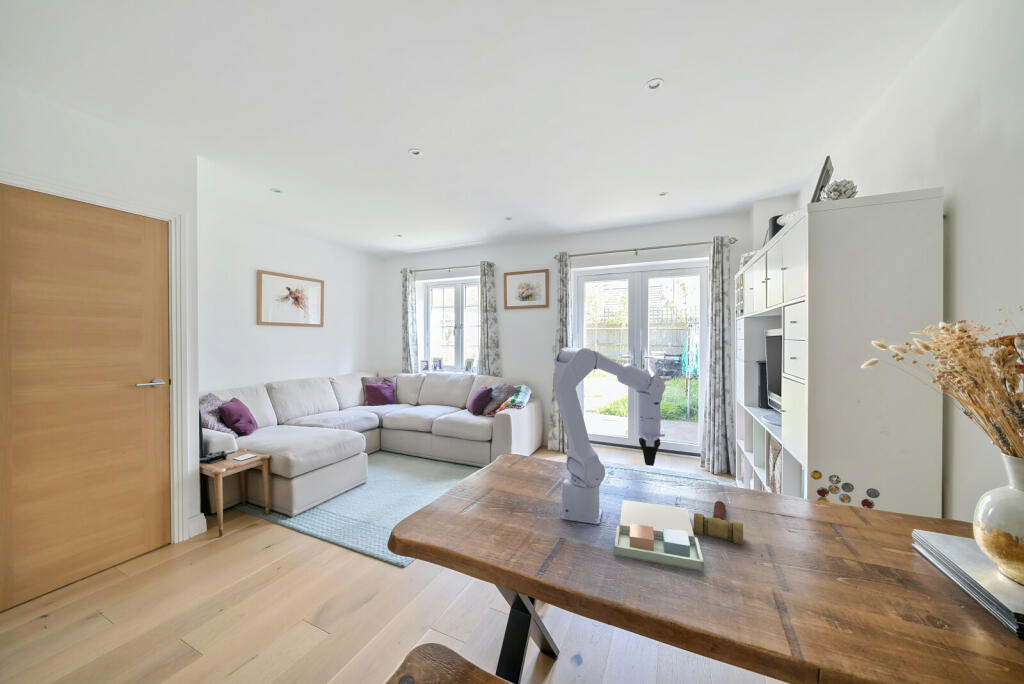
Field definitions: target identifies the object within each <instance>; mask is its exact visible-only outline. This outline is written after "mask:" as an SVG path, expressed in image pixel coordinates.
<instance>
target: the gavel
mask: <svg viewBox="0 0 1024 684" xmlns="http://www.w3.org/2000/svg"><path fill="white" fill-rule="evenodd" d="M725 519H726V504H725V503H724V502H723V501H722V500H716V501H715V502H714V506H713V514H712V517H711V516H708V517H707V516H705V515H704V513H703V514H702V513H698V512H695V513H694V514H693V521H692V522H693V524H692V525H693V527H692V530H693V534H695V535H696V534H697V535H700V536H704V535H707V536H710V537H715V538H719V539H723V540H727V541H728V540H729V541H732V543H733V542H734V544H738V545H744V523H743V522H741V521H736V520H733V521H732V522H730V521H728V520H725Z"/></svg>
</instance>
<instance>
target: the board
mask: <svg viewBox="0 0 1024 684" xmlns="http://www.w3.org/2000/svg"><path fill="white" fill-rule="evenodd" d="M620 511H621V512H620V521H619V526H620V531H626V532H630V523H631V524H637V525H644V526H650V527H653V533H654V536H657V537H663V528H666V529H672V530H679V531H685V532H687V533H688V538H689V542H694V537H695V535H694V534H695V533H694V530H693V527H692V523H691V520H690V516H689V511H688V508H686V507H680V506H679V507H678V506H671V505H664V504H656V503H655V504H654V503H649V502H641V501H635V500H626V499H622V503H621V510H620Z"/></svg>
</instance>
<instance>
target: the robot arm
mask: <svg viewBox="0 0 1024 684" xmlns="http://www.w3.org/2000/svg"><path fill="white" fill-rule="evenodd" d="M553 361H554V365H555V367H554V373H553V379H552V387H553V391H554V394H555V395H554V396H555V399H556V402H557V406H558V410H559V415H560V418H561V421H562V424H563V428H564V432H565V437H566V440H567V444H568V447H569V448H567V450H566V451H565V453H566V462H565V465H566V467H565V468H566V470H567V471H568V473H570V478H566V479H563V483H562V487H561V489H562V491H561V493H562V494H561V513H562V514H561V520H567V521H575V522H580V523H585V524H593V525H600V523H601V517H602V513H603V509H602V508H600V486H601V484H602V482H603V481H604V479H605V476H606V468H605V466H604V464H603V463H602V462H601V461H600V458H599V455H598V454H597V452H596V451H595V449H594V448H593V446H592V444H591V443H590V438H589V435H588V431H587V426H586V423H585V418H584V416H583V412H582V408H581V404H580V400H579V395H578V392H577V388H578V387H577V386H578V385H579V383H581V382H582V381H583V380H584V379H585V378H586V377H587V376H588V375H590V373H592V371H593V370H598V369H599V370H602V371H604V372H605V373H609V374H611V375H613V376H616V377H617V378H616V379H617V380H618V382H619V383H621V384H622V385H625V386H627V387H629V388H630V389H631V388H632V389H633V390H635V391H636V392H637V393H638V431H637V435H638V436H639V438H638V443H639V445H640V447H641V449H642V454H643V459H644V460H643V461H644V464H645V466H649V467H651V466H652V467H653V466H654V464H655V461H656V457H657V456H656V455H657V452H658V449H659V448H660V446H661V439H660V438H661V437H662V438H663V437H665V436H666V432H661V402H662V400H663V395H664V392H665V390H666V386H667V385H666V384H665V381H664V379H663V378H662V377H661V376H660V375H657V374H651V373H650V370H648V369H642V368H639V367H637V363H634V362H630V363H626V362H625V363H624V364H621V363H619V362H617V361H616V360H613V359H612V358H610V357H609V356H606V355H604V354H602V353H600V352H599V351H596V350H592V349H590V348H587V347H583V348H581V347H569V346H564V347H562V348H561V349H560V350H559V351H558V353H557V354H556V356H555V358H554V359H553Z"/></svg>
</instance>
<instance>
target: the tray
mask: <svg viewBox="0 0 1024 684" xmlns="http://www.w3.org/2000/svg"><path fill="white" fill-rule="evenodd" d="M615 532H616V533H615V539H614V556H616V557H621V558H627V559H631V560H637V561H638V560H639V561H643V562H647V563H648V562H649V563H653V564H654V563H655V564H660V565H665V566H668V567H669V566H670V567H675V568H682V569H686V570H692V571H697V572H702V573H703V572H705V561H704V558H703V554H702V550H701V546H700V542H699V538H698V537H695V536H694V542H689V543H690V557H687V556H682V555H676V554H670V553H664V545H663V537H657V536H654V551H651V550H645V549H639V548H633V547H630V532H626V531H620V524H619V525H616V531H615Z"/></svg>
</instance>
